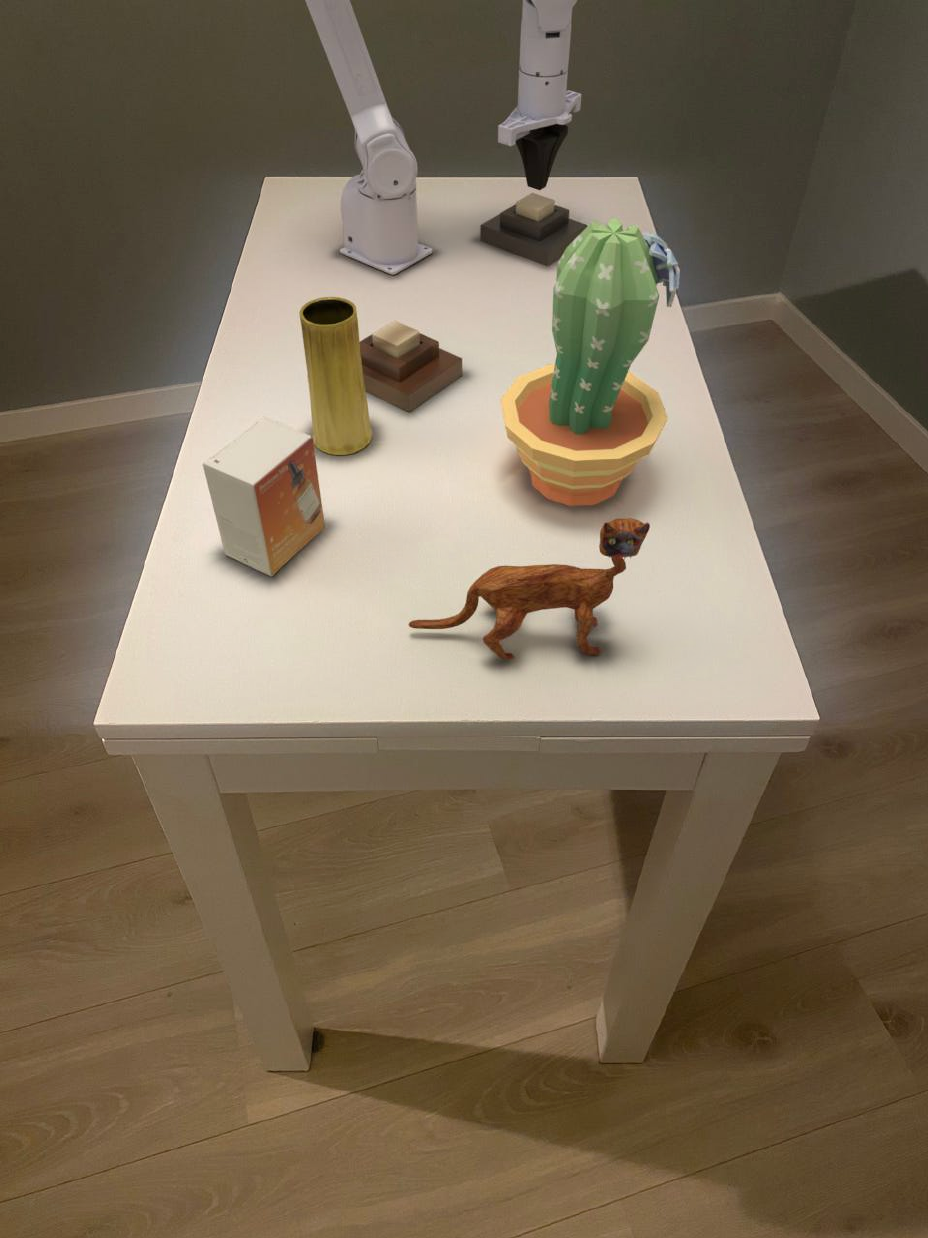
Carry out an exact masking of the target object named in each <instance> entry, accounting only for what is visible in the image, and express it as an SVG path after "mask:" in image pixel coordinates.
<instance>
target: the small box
mask: <svg viewBox="0 0 928 1238" xmlns="http://www.w3.org/2000/svg"><path fill="white" fill-rule="evenodd" d="M202 468H203V472H204V476H205V479H206V484H207V488H208V492H209V496H210V500H211V504H212V508H213V511H214V516H215V520H216V524H217V528H218V531H219V537H220V540H221V545H222V547H223V552H224V554H225V556H227V557H230V558H232V559H234V560H236V561H238V562H240V563H241V564H243V565H246V566H249V567H250V568H253V569H254V570H257V571H259V572H260V573H263V574H265V575H267V576H269V577H273V576H274V575H275V574H276V573H277V572H279V570H281V568H282V567H283V566H284V565H285V564H286V563H287V562H289V561H290V560H291V559H292V558H293V557H294V556H295V555H296V554H297V553H298V552H299V551H301V550H302V549H303V548H305V546H307V544H308V543H310V542H311V540H313V539H314V538H315V537H316V536H317V535H319V534H320V533H321V532H322V531H323V530H324V529H325V528H326V527H325V518H324V510H323V502H322V497H321V496H322V495H321V489H320V482H319V473H318V466H317V459H316V452H315V444H314V442H313V437H312V435H309V434H307V433H306V432H303V431H300V430H299V429H295V428H293V427H291V426H288V425H286V424H283V423H282V422H281V423H280V422H279V421H277V420H273V419H272V418H268V417H266V416H262V417H260V418H259V420H257V421H256V423H254V424H253V425H252V426H250V427H249V428H248V429H246V430H245V431H244V432H243V433H242V434H240V435H239V436H238V437H236V438H235V439H233V441H231V442H230V443H229V444H228V445H226V446H225V447H223V448H222V449H221V450H219V451H218V452H217V453H215V454H214V455H213V456H212V457H210V458H208V459H207V460H205V461H204V462H203V463H202Z"/></svg>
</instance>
